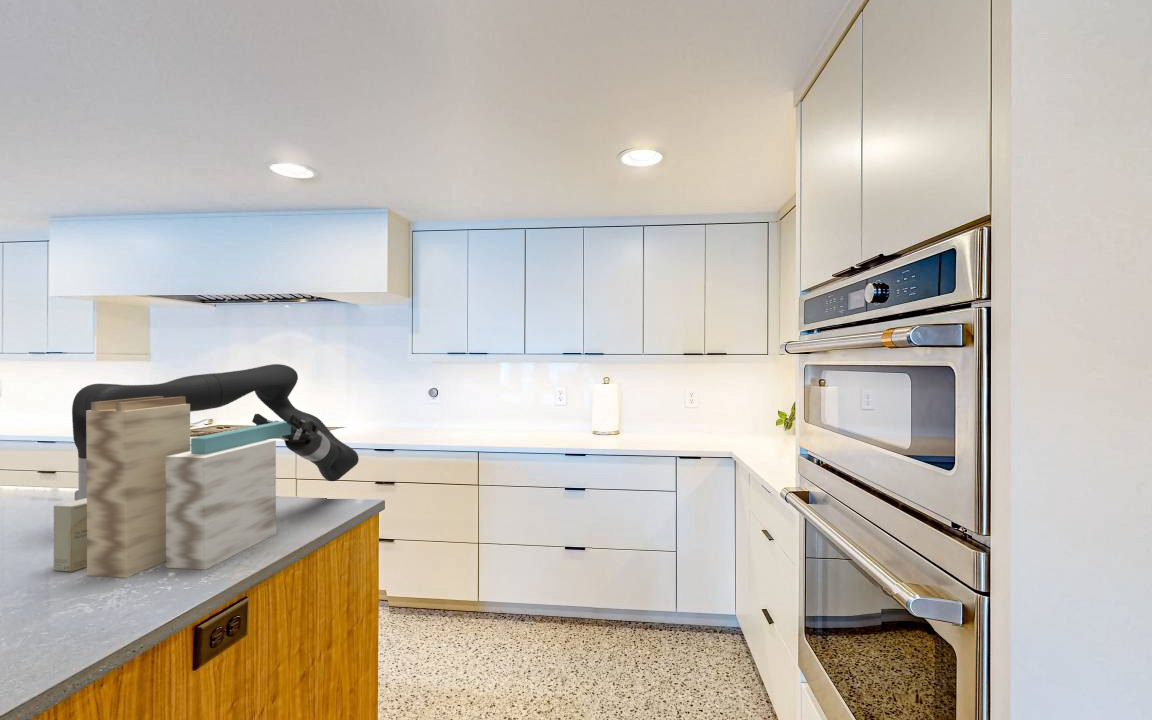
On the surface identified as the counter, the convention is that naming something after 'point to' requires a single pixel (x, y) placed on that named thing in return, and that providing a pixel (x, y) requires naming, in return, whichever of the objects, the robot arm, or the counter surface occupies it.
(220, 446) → the rod
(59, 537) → the skincare box
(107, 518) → the stepped wooden blocks
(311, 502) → the counter surface
